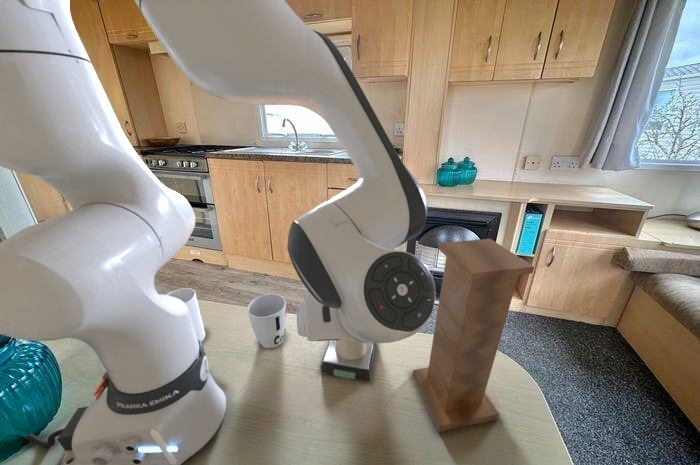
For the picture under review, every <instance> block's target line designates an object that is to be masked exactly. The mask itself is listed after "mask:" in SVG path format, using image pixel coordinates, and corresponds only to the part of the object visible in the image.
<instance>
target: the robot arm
mask: <svg viewBox="0 0 700 465" xmlns="http://www.w3.org/2000/svg"><path fill="white" fill-rule="evenodd" d="M133 1H134V2H135V5H136V6H137V8H138V9H139V11H140V13H141V14H142V16H143V18H144V19H145V21H146V23H147V25H148V26H149V28H150V29H151V30H152V32H153V34H154V35H155V37H156V39H157V40H158V42H159V44H160V45H161V47H162V48H163V49H164V51H165V52H166V53H167V55H168V56H169V57H170V59H171V60H172V62H173V63H174V64H175V66H176V67H177V68H178V70H179V71H180V73H182V75H183V76H184V77H185V78H186V79H187V80H188V81H189V82H191V83H192V84H193V85H195V86H196V87H197V88H199V89H200V90H202V91H205V92H206V93H207V94H209V95H212V96H214V97H216V98H218V99H222V100H224V101H228V102H232V103H237V104H242V105H250V106H251V105H252V106H291V107H298V108H303V109H306V110H309V111H311V112H313V113H315V114H317V115H318V116H319V117H321V118H322V119H323V121H325V122H326V124H327V125H328V127H329V128H330V129H331V131H332V132H333V134H334V135H335V136H334V137H336V139H337V140H338V142H339V144H340V145H341V146H342V148H343V150H344V151H345V153H346V155H347V156H348V158H349V160H350V161H351V162H352V164H353V166H354V167H355V169H356V170H357V172H358V179H357V181H356V183H355V184H353V185H352V186H349V187H348V188H347V189H345V190H343V191H342V192H340V193H338V194H337V195H335V196H333V197H331V198H330V199H328V200H327V201H324V202H322V203H320V204H318V205H317V206H315V207H314V208H312V209H311V210H309V211H307V212H305V213H303V214H302V215H301V216H299V217H298V218H296V219H295V220H293V221H292V222H291V224H290V227H289V229H288V236H287V245H286V247H287V248H286V249H287V254H288V255H289V258H290V261H291V264H292V266H293V268H294V270H295V272H296V274H297V276H298V278H299V279H300V281H301V282H302V284H303V286H304V287H305V288H306V290H307V292H308V293H306V294H305V295H304V296H303V297H304V298H303V299H304V300H303V301H302V302H301V303H299V304H298V306H297V308H296V331H297V335H299V336H300V337H306V340H307V341H308V342H324V341H330V340H345V341H350V342H360V343H376V344H389V343H395V342H401V341H403V340H405V339H407V338H410V337H412V336H414V335H415V334H417V333H418V332H420V331H421V330H422V329H423V328H424V326H426V324H427V323H428V321H429V319H430V318H431V317H432V314H433V311H434V308H435V303H436V283H435V280H434V277H433V274H432V273H431V271H430V268H429V267H428V266H427V264H426V263H424V262H423V260H421V259H420V258H419V257H418V256H416V255H414V254H412V253H410V252H407V251H404V250H400V249H399V250H398V249H396V248H398V247H400V246H402V245H404V244H405V243H407V242H409V241H410V240H412V239H413V238H415V237H417V236H418V235H420V234H421V233H422V232H423V231H424V230H425V229H424V228H425V226H426V222H427V218H428V217H427V215H428V202H427V197H426V194H425V191H424V189H423V187H422V186H421V185H420V182H418V180H417V179H416V178H415V176H414V175H413V173H411V171H410V170H409V169H408V168H407V167H406V165H405V164H404V162H403V160H402V159H401V158H400V156H399V154H398V152H397V150H396V149H395V147H394V145H393V143H392V141H391V140H390V138H389V136H388V134H387V132H386V130H385V129H384V127H383V125H382V123H381V121H380V120H379V118H378V116H377V114H376V112H375V111H374V109H373V107H372V105H371V103H370V101H369V100H368V98H367V96H366V94H365V92H364V90H363V88H362V87H361V85H360V83H359V82H358V80H357V78H356V76H355V75H354V73H353V71H352V69H351V68H350V66H349V64H348V63H347V61H346V59H345V58H344V56H343V55H342V53H341V52H340V50H339V49H338V48H337V46H336V45H335V43H334V42H333V41H332V40H331V39H330V38H329V37H328V36H327V35H326V34H324V33H322V32H319V31H317V30H315V29H313V28H311V27H310V26H309V25H308V24H307V23H306V22H304V20H302V18H300V17H299V15H298V14H297V13H296V12H295V11H294V10H293V9H292V7H291V6H290V5H289V4H288V3H287V2H286V0H133ZM90 2H94V3H95V2H103V0H90ZM70 3H71V0H0V167H1V168H3V169H7V170H9V171H14V172H16V173H19V174H20V173H21V174H25V175H29V176H33V177H35V178H37V179H39V180H41V181H42V182H44V183H46V184H47V185H49V186H50V187H52V188H53V189H54V190H55V191H56V192H58V193H59V194H60V195H61V196H62V197H63V198H64V199H65V201H66V202H67V203H68V204H69V205H70V207H71V209H72V210H69V211H67V212H65V213H62V214H59V215H57V216H54V217H51V218H48V219H46V220H42V221H40V222H38V223H35V224H32V225H29V226H27V227H25V228H22V229H21V230H19V231H18V232H15V233H14V234H12V235H11V236H8V238H6V239H4V240H3V241H1V242H0V335H2V336H6V337H9V338H12V339H17V340H24V341H31V342H32V341H33V342H34V341H35V342H43V341H44V342H47V341H49V342H50V341H57V340H58V341H59V340H63V339H64V340H65V339H74V340H79V341H80V342H83V343H85V344H86V345H88V346H89V347H90V348H91V349H92V350H93V351H94V354H96V356H97V357H98V359H99V361H100V362H101V364H102V366H103V368H104V370H105V373H104V374H103V376H102V380H101V382H100V383H99V384H98V386H97V388H95V391H94V393H93V397H94V398H93V399H92V401H91V402H90V403H89V404H88V406H82V407H78V408H76V411H75V412H74V413H73V415H72V417H71V418H70V420H68V423H67V424H66V425H65V426H64V428H61V429H57V430H55V431H54V432H52V433H50V434H49V436H48V437H47V440H45V439H43V438H40V436H39V437H38V436H37V435H36V434H33V433H31V434H29V435H28V436H27V437H26V438H25V439H24V440H27V441H28V442H31V443H33V444H35V445H37V446H40V447H41V448H51V447H53V446H54V445H55V444H56V440H57V441H58V442H59V444H60V445H61V447H62V448H63V450H64V451H65V454H64V456H63V459H62V461H61V463H60V465H183V463H184V462H186V461H187V460H188V459H189V458H191V457H192V456H194V455H195V454H196V453H197V452H199V451H200V450H201V449H202V448H204V446H206V445H207V443H208V442H209V441H210V440H211V439H212V438H213V437H214V436H215V434H216V433H217V431H218V429H219V428H220V427H221V425H222V423H223V420H224V417H225V415H226V410H227V397H226V394H225V392H224V391H223V390H222V388H221V387H220V386H219V385H218V384H217V383H216V381H215V379H214V378H213V377H212V374H211V372H210V366H209V360H208V357H207V355H206V350H205V348H204V345H203V341H202V342H201V340H200V339H199V338H198V337H197V335H196V332H195V328H194V325H193V322H192V318H191V315H190V311H189V308H188V306H187V305H186V304H185V303H184V302H183V301H182V300H180V299H178V298H175V297H172V296H168V295H166V294H159V293H158V291H157V290H156V287H155V277H156V274H157V273H158V272H159V270H160V269H162V268H163V267H164V266H165V265H166V264H168V262H169V261H171V260H172V259H173V258H174V257H175V256H176V255H177V254H179V253H180V252H181V251H182V250H183V248H185V246H186V244H187V242H188V241H189V239H190V237H191V235H192V234H193V232H194V230H195V227H196V215H195V212H194V209H193V207H192V205H191V204H190V202H189V201H188V200H187V199H186V198H185V197H184V196H183V195H181V194H180V193H179V192H178V191H176V190H173V189H171V188H169V187H167V185H165V184H164V183H163V182H161V181H160V180H159V179H158V177H157V176H155V174H154V173H153V172H152V171H151V170H150V169H149V167H148V166H147V164H145V162H144V161H143V160H142V158H141V157H140V155H138V153H137V151H136V150H135V149H134V147H133V145H132V144H131V142H130V141H129V139H128V138H127V135H126V134H125V132H124V130H123V128H122V126H121V124H120V122H119V120H118V118H117V115H116V113H115V111H114V109H113V107H112V105H111V102H110V101H109V98H108V96H107V94H106V91H105V90H104V88H103V86H102V83H101V81H100V79H99V76H98V74H97V72H96V70H95V67H94V66H93V63H92V61H91V59H90V57H89V54H88V52H87V50H86V48H85V45H84V43H83V41H82V40H81V37H80V36H79V33H78V30H77V29H76V26H75V23H74V21H73V17H72V13H71V8H70V6H71V5H70ZM56 438H57V439H56Z"/></svg>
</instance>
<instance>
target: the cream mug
mask: <svg viewBox="0 0 700 465" xmlns="http://www.w3.org/2000/svg"><path fill="white" fill-rule="evenodd" d="M366 350H367V343H360V342H350V341H345V340H335V351H336V353H337V354H338V355H339V356H340V357H341V358H343V359H346V360H356V359H359V358H361V357H362V356H363V355H364V354H365V353H366Z"/></svg>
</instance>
